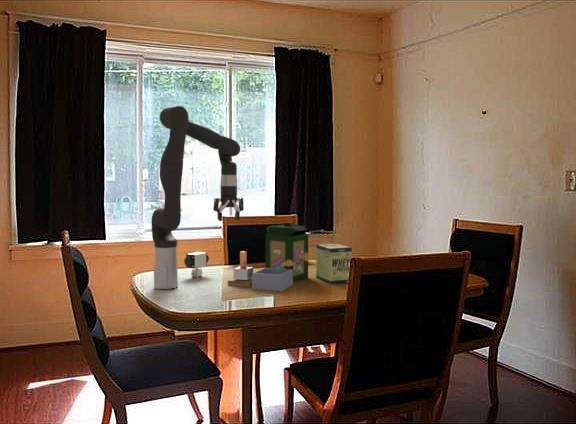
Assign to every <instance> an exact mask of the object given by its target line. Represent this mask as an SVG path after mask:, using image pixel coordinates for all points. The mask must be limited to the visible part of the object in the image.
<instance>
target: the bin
mask: <svg viewBox="0 0 576 424" xmlns="http://www.w3.org/2000/svg"><path fill="white" fill-rule="evenodd" d="M293 285H294V282H293V270H289V269H275V268H265V267H263V268H261V269H258V270H256V271H253V273H252V286H251V288H252V290H260V291H261V290H262V291H273V292H274V291H275V292H283V291H285V290H287V289H288V288H290V287H292V286H293Z"/></svg>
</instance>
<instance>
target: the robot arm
mask: <svg viewBox="0 0 576 424" xmlns="http://www.w3.org/2000/svg"><path fill="white" fill-rule="evenodd" d="M159 121H160V123H161V125H162V126H163V127H164V128H166V129H169V138H168V141H167V144H166V146H165V148H164V150H163V153H162V154H161V155H162V156H161V157H160V161H159V162H160V163H159V165H160V166H159V179H160V184H161V187H162V190H163V193H164V203H163V204H164V206H163V207H158V208H156V209H154V211H153V212H152V214H151V215H152V216H151V236H152V241H153V243H154V266H153V289H154V288H156V290H164V289H166V290H167V289H168V290H173V289H172V288H174V289H177V288H178V287H179V285H178V283H179V281H178V279H179V278H178V277H179V276H178V240H177V238H176V237H174V235H173V234H172V231H175V230H177V229H178V228H179V226H180V223H181V219H182V217H181V216H182V210H181V209H182V208H181V207H182V206H181V201H182V200H181V197H182V196H181V193H182V179H183V170H184V156H185V155H184V154H185V145H186V137H190V138H192V139H194V140H196V141H198V142H200V143H201V144H204V145H205V146H207V147H209V148H211V149H214V150H217V153H218V158H219V162H220V169H221V170H220V171H221V172H220V173H221V174H220V198H218V197H214V198H213V209H212V210H213V212H216V213H217V220H218V221H219V222H222V221H223V211H224V210H225V209H226V208H233V210H234V211H235V212H234V221H239V220H240V218H241V214H240V213H241V212H242V211H244V210H245V209H244V207H245V206H244V198H243V197H238V176H237V173H238V165H237V163H236V162H234V161H233V160H232V157H236V156H238V155H239V154H240V152H241V145H240V144H239V143H238V141H237V140H234V139H233V138H230V137H227V136H224V135H222V134H220V133H219V132H216V131H215V130H213V129H211V128H209V127H206V126H203V125H200V124H198V123H195V122H193V121H190V115H189V112H188V110H187V108H186V107H184V106H183V105H174V106H169V107H165V108H163V109H162V110H161V111H160V113H159ZM237 202H238V204H237ZM176 287H177V288H176Z"/></svg>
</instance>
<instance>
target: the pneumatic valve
mask: <svg viewBox="0 0 576 424" xmlns="http://www.w3.org/2000/svg"><path fill="white" fill-rule="evenodd" d="M209 259H210V256H209V255H208V252H206V251H198V250H195V252H191V253H186V254H185V258H184V262H183V263H184V265H185V266H186V268H187V269H191V273H190V274H191V275H190V276H191V277H192V276H195V277H194V278H196V277H197V278H200V277H199V276H202V277H203V269H202V268H204V267H208V263H209Z"/></svg>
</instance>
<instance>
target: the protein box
mask: <svg viewBox="0 0 576 424" xmlns="http://www.w3.org/2000/svg"><path fill="white" fill-rule="evenodd" d="M315 250H316V257H315V258H316V259H315V260H316V261H315V279H318V280H320V281H323V282H324V281H325V283H326V284H329V283H330V284H329V285H335V284H334V283H338V284H347V281H348V273H349V263H350V259H351V258H352V254H353V249H352V247H351V246H347V245H343V244H339V243H323V244H322V243H321V244H320V243H319V244H316V249H315Z"/></svg>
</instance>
